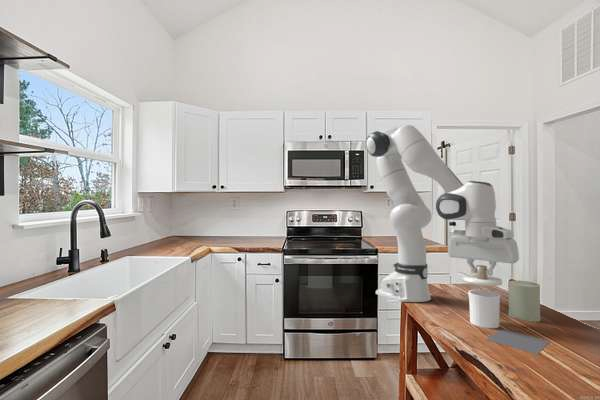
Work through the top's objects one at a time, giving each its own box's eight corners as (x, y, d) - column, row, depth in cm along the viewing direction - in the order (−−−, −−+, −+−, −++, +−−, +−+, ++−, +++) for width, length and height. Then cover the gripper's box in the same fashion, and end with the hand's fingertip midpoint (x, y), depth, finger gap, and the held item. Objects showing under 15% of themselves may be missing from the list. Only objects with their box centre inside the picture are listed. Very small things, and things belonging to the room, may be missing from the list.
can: (546, 323, 107) (546, 285, 107) (515, 321, 109) (514, 284, 109) (532, 313, 116) (532, 279, 116) (503, 312, 118) (503, 278, 118)
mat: (486, 342, 92) (486, 339, 92) (500, 331, 100) (500, 328, 100) (537, 357, 83) (537, 354, 83) (549, 343, 91) (549, 340, 91)
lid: (457, 281, 106) (456, 266, 106) (470, 276, 113) (470, 262, 114) (495, 287, 98) (494, 270, 98) (506, 281, 105) (506, 265, 105)
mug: (507, 329, 101) (507, 296, 101) (483, 332, 99) (482, 298, 99) (481, 318, 112) (480, 287, 112) (458, 320, 110) (457, 289, 110)
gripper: (444, 230, 112) (445, 271, 111) (513, 233, 96) (514, 280, 96) (452, 229, 116) (453, 268, 116) (519, 231, 101) (521, 277, 100)
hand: (481, 274), depth 106 cm, fingers closed on lid, 3 cm apart
